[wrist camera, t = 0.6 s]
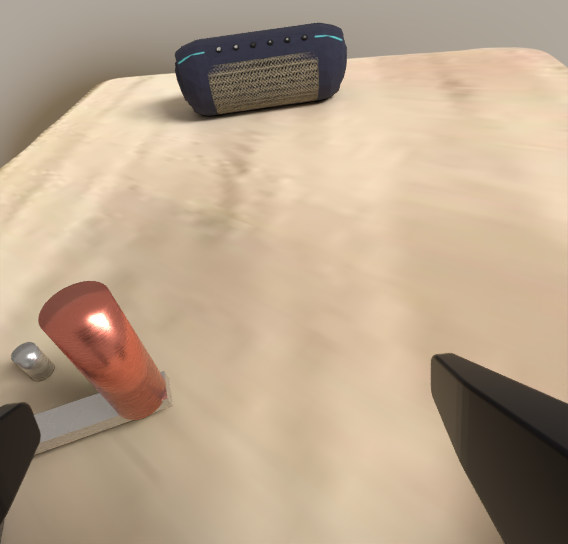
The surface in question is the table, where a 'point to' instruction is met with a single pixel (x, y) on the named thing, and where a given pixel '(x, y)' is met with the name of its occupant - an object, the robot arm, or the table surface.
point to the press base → (32, 367)
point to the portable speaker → (262, 68)
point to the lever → (99, 365)
